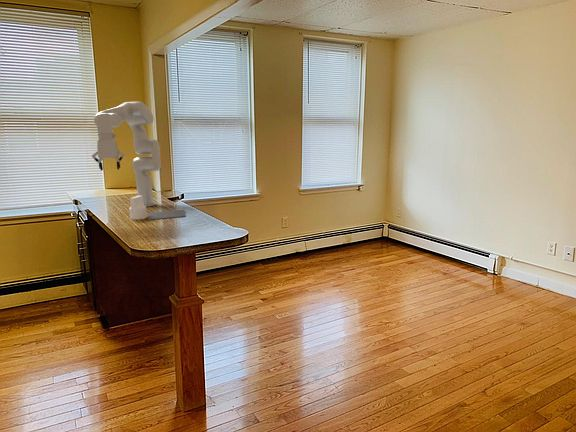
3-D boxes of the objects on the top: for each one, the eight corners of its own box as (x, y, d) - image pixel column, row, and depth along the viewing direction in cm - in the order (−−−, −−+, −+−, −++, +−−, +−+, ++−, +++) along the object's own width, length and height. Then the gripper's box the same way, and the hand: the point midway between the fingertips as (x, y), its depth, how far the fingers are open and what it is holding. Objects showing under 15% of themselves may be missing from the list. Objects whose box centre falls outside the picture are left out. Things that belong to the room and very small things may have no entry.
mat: (149, 213, 254) (149, 212, 254) (184, 210, 259) (184, 209, 258) (148, 220, 235) (147, 219, 235) (185, 216, 240) (185, 215, 239)
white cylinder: (141, 219, 238) (139, 198, 235) (127, 219, 239) (124, 198, 237) (150, 216, 246) (147, 195, 244) (135, 216, 248) (133, 195, 246)
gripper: (123, 136, 236) (127, 168, 240) (89, 137, 232) (94, 170, 236) (122, 136, 229) (126, 169, 233) (87, 137, 225) (91, 171, 228)
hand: (110, 169), depth 234 cm, fingers open, 7 cm apart
